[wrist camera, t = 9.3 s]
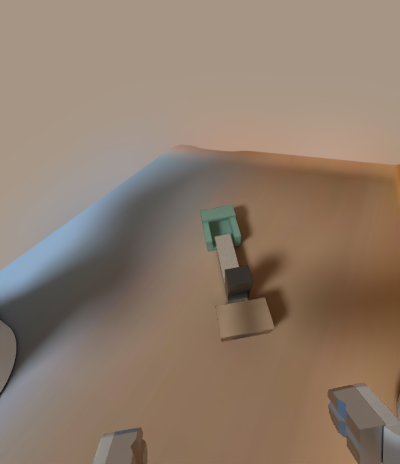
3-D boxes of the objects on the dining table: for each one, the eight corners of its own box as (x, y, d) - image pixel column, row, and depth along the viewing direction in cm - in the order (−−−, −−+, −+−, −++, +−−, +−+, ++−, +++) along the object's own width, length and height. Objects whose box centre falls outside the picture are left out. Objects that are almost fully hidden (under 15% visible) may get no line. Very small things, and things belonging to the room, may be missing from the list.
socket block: (221, 341, 32) (221, 337, 28) (216, 313, 34) (215, 306, 30) (268, 333, 32) (274, 328, 28) (260, 305, 34) (265, 297, 30)
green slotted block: (207, 251, 40) (206, 240, 36) (202, 221, 44) (200, 208, 40) (240, 245, 40) (241, 234, 36) (231, 215, 44) (231, 202, 40)
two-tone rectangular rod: (233, 329, 32) (235, 316, 24) (214, 241, 40) (211, 213, 33) (253, 325, 32) (261, 312, 24) (230, 238, 40) (231, 209, 33)
